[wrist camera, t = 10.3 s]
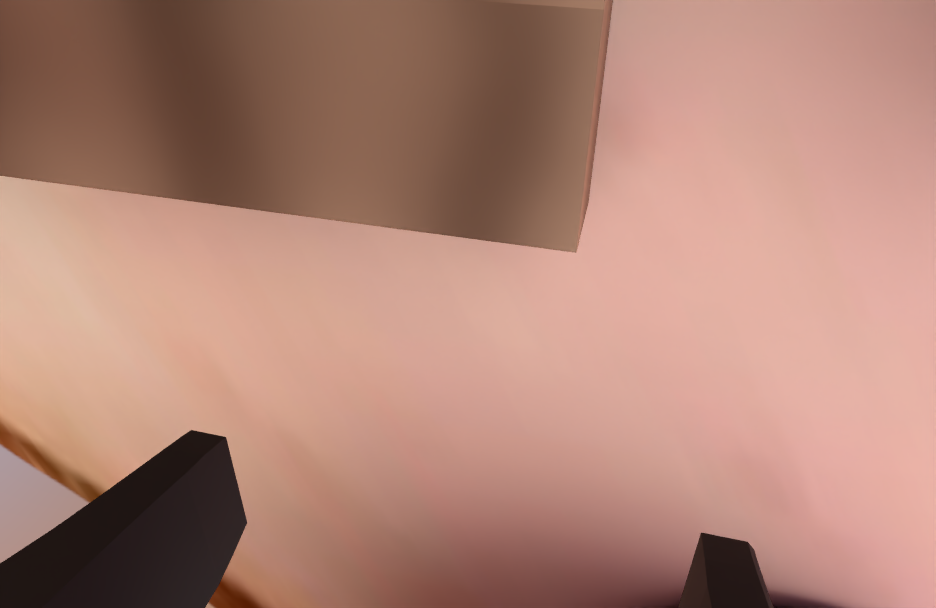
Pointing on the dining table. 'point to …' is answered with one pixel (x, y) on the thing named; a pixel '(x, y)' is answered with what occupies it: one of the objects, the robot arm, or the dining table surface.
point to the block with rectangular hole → (316, 107)
